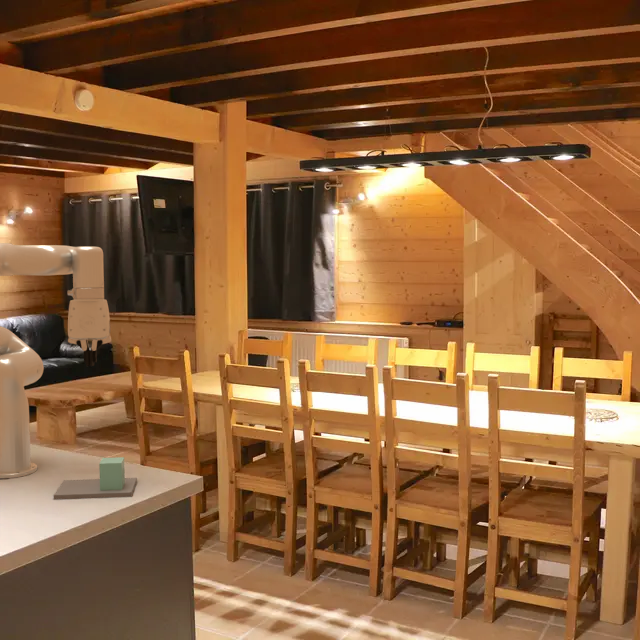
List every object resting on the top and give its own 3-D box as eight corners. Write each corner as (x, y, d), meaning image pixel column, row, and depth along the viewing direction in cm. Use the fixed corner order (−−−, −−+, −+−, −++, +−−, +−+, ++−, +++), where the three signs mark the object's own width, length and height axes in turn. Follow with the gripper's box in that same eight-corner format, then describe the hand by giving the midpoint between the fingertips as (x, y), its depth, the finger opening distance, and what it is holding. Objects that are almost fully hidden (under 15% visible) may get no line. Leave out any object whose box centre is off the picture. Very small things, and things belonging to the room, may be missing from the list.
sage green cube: (99, 490, 184) (99, 463, 183) (103, 483, 189) (102, 457, 188) (122, 489, 184) (121, 463, 184) (124, 483, 190) (124, 457, 189)
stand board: (53, 499, 180) (53, 495, 180) (64, 484, 192) (63, 480, 192) (131, 496, 183) (131, 492, 182) (137, 481, 194) (136, 477, 194)
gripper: (55, 295, 191) (57, 368, 192) (116, 295, 193) (118, 367, 194) (61, 293, 198) (63, 363, 200) (120, 293, 200) (121, 363, 202)
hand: (90, 365), depth 197 cm, fingers closed
